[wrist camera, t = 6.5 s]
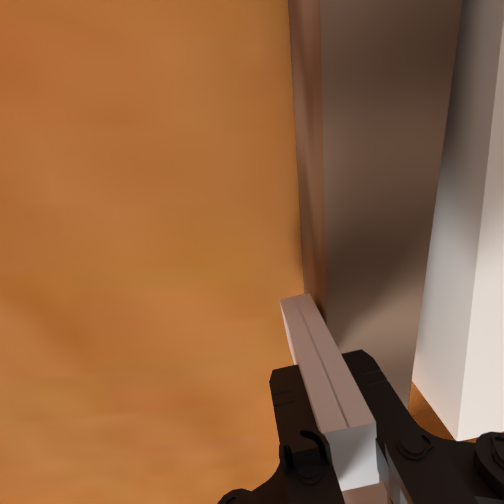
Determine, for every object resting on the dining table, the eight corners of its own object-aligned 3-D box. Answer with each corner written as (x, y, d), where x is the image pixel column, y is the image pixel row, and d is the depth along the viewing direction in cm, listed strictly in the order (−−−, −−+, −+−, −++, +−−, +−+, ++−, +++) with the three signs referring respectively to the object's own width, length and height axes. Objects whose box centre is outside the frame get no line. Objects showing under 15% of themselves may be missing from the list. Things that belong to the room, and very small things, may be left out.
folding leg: (283, -93, 10) (326, -266, 6) (397, -106, 10) (529, -286, 6) (309, 377, 19) (334, 455, 14) (370, 368, 19) (414, 442, 14)
